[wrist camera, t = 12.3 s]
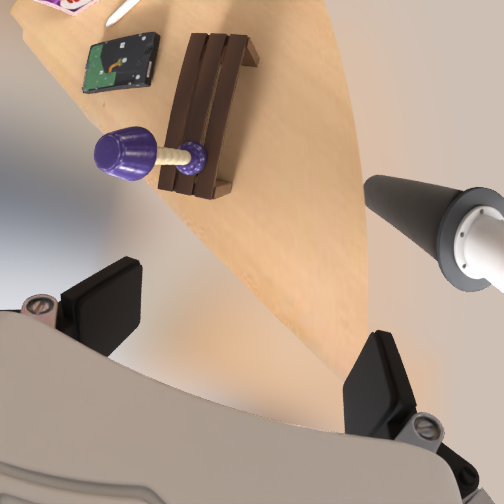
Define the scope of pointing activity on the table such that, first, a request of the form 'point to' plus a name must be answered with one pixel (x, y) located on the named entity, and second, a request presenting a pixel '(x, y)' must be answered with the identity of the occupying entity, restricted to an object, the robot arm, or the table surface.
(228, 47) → the bench
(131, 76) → the disk drive
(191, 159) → the toy lamp
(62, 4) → the greeting card
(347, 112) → the table surface
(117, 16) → the marker
